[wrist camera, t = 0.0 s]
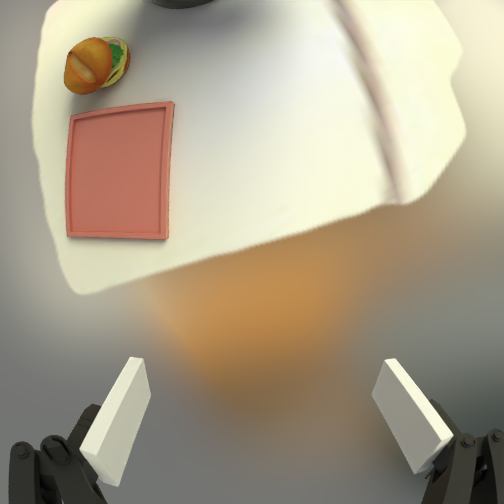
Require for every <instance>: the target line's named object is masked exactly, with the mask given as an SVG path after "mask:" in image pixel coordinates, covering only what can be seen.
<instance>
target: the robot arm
mask: <svg viewBox="0 0 504 504" xmlns="http://www.w3.org/2000/svg"><path fill="white" fill-rule="evenodd" d="M152 1H153V2H155V3H156V4H158V5H160V6H163V7H167V8H188V7H193V6H197V5H201V4H204V3H207V2H209V1H211V0H152ZM150 397H151V393H150V389H149V385H148V380H147V375H146V370H145V365H144V359H142V358H134V357H130V358H129V360H128V362H127V363H126V365H125V367H124V369H123V370H122V372H121V374H120V375H119V377H118V379H117V380H116V382H115V384H114V386H113V387H112V389H111V391H110V393H109V394H108V396H107V398H106V400H105V402H104V403H103V405H102V406H99V405H95V404H92V405H90V406H89V407H87V408H86V409H85V410H84V412H83V413H82V415H81V417H80V419H79V420H78V422H77V425H75V427H74V429H73V430H72V432H71V434H70V436H69V437H68V439H67V441H66V440H65V439H64V438H63V437H61V436H58V435H51V436H48V437H46V438H45V439H43V441H42V442H41V445H40V446H41V447H40V450H41V451H38V450H34V448H33V447H32V446H31V445H30V444H28V443H27V442H17V443H15V445H13V446H12V449H11V453H10V464H9V504H62V500H63V502H64V504H107V502H106V500H105V498H104V496H103V494H102V492H101V490H100V488H99V486H98V484H97V483H96V481H97V478H98V477H99V478H100V479H101V481H102V482H104V483H107V484H110V485H113V486H116V487H118V486H119V483H120V480H121V477H122V474H123V471H124V468H125V465H126V462H127V459H128V457H129V454H130V451H131V448H132V445H133V442H134V440H135V437H136V434H137V432H138V429H139V426H140V423H141V421H142V418H143V415H144V413H145V410H146V407H147V405H148V402H149V399H150ZM372 397H373V398H374V400H375V402H376V404H377V406H378V407H379V409H380V411H381V413H382V414H383V416H384V418H385V420H386V422H387V424H388V425H389V427H390V429H391V431H392V433H393V435H394V437H395V438H396V440H397V442H398V444H399V446H400V447H401V449H402V451H403V453H404V455H405V457H406V459H407V461H408V463H409V465H410V466H411V469H412V470H413V472H414V474H417V473H419V472H422V471H424V470H426V469H427V468H428V467H429V466H430V465H431V464H432V463H433V464H434V468H433V469H432V470H431V471H430V472H429V473H428V474H427V475H426V477H425V479H427V478H428V477H429V476H430V479H429V482H428V485H427V488H426V491H425V494H424V497H423V500H422V503H421V504H504V433H503V432H502V431H501V430H499V429H491V430H490V431H489V432H488V434H487V435H486V436H485V437H479V438H475V437H474V436H473V435H470V434H462V433H461V432H460V431H459V429H458V428H457V427H456V425H455V424H454V423H453V421H452V420H451V419H450V417H448V415H447V413H446V412H444V409H443V408H442V407H441V406H440V404H438V403H437V402H435V401H434V400H432V399H431V400H427V399H426V397H425V396H424V395H423V393H422V392H421V391H420V389H419V388H418V387H417V386H416V384H415V383H414V382H413V380H412V379H411V378H410V377H409V375H408V374H407V373H406V372H405V370H404V369H403V368H402V366H401V365H400V364H399V363H398V361H397V360H396V359H389V360H384V363H383V365H382V368H381V371H380V374H379V377H378V379H377V382H376V385H375V388H374V390H373V393H372ZM485 465H487V469H485ZM61 497H62V498H61Z"/></svg>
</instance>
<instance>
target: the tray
mask: <svg viewBox="0 0 504 504" xmlns="http://www.w3.org/2000/svg"><path fill="white" fill-rule="evenodd" d="M174 106H175V104H174V103H173V102H172V101H170V102H156V103H146V104H137V105H128V106H121V107H114V108H108V109H102V110H96V111H91V112H86V113H81V114H76V115H72V116H71V118H70V126H69V134H68V144H67V158H66V180H65V208H66V231H67V236H70V237H109V238H143V239H167V238H168V237H169V177H170V156H171V141H172V128H173V116H174Z"/></svg>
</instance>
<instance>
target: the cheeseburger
mask: <svg viewBox="0 0 504 504" xmlns="http://www.w3.org/2000/svg"><path fill="white" fill-rule="evenodd" d="M129 60H130V53H129V49H128V47H127V44H126V43H125V42H124V41H123V40H121V39H120V38H114V37H103V38H95V37H93V38H88V39H86V40H84V41H82V42H80V43H79V44H77V45H76V46H75V47H73V48H72V49H71V50H70V52H69V53H68V56H67V61H66V66H65V72H64V84H65V86H66V87H67V88H68V89H69V90H70V91H71V92H73V93H77V94H81V95H84V94H89V93H92V92H94V91H96V90H97V89H99V88H106V87H108V86H110V85H112V84H114V83H115V82H116V81H117V80H119V79H120V78H121V77H122V76H123V75H124V73H125V71H126V70H127V68H128V66H129Z"/></svg>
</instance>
